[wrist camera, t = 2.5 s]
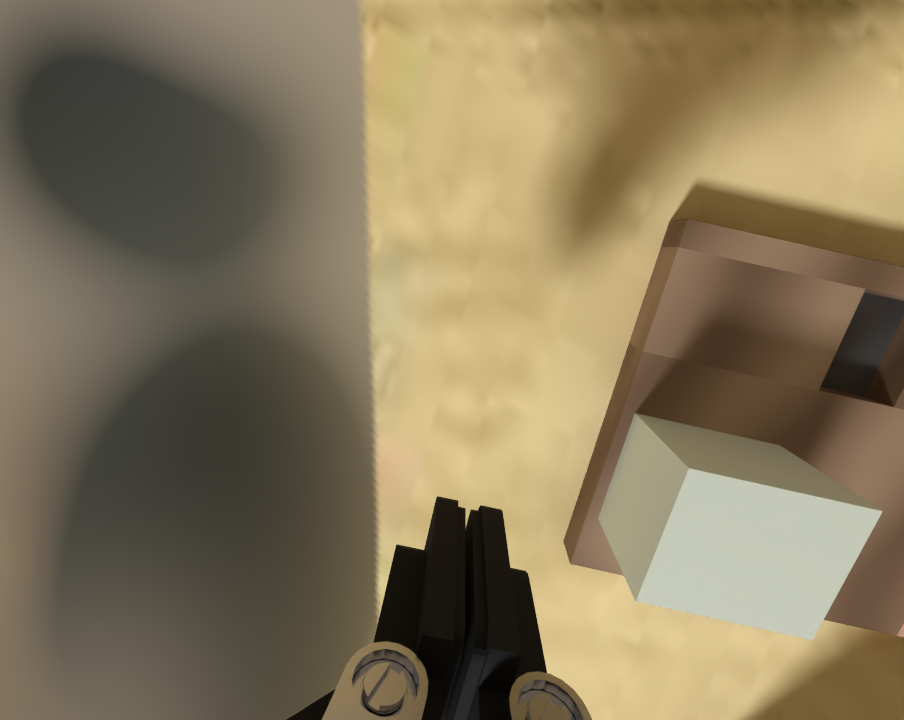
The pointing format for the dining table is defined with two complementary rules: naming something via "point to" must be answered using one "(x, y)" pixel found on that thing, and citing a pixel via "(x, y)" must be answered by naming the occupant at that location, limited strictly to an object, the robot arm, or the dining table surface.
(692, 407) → the track
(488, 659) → the robot arm
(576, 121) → the dining table surface
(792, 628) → the sage block
